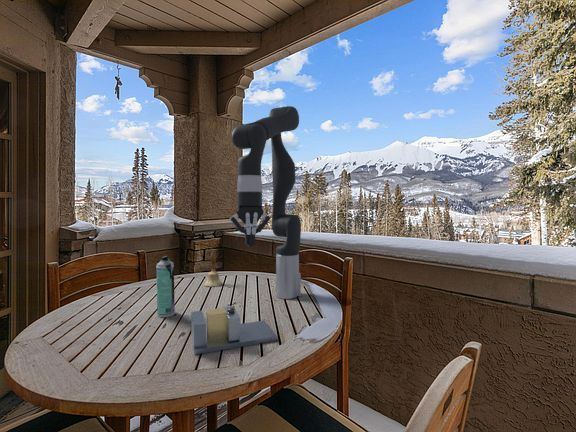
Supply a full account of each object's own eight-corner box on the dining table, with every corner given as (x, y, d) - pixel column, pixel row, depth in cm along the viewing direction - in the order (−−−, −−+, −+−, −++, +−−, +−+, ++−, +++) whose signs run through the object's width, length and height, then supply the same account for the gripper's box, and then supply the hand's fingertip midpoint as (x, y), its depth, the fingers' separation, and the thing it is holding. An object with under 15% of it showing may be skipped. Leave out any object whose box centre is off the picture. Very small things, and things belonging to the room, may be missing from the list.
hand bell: (208, 281, 146) (208, 248, 145) (225, 282, 145) (224, 249, 144) (201, 286, 138) (200, 251, 137) (218, 287, 137) (218, 252, 136)
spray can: (178, 312, 106) (177, 255, 105) (167, 318, 101) (165, 258, 100) (165, 310, 108) (164, 254, 107) (153, 316, 103) (152, 257, 102)
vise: (264, 324, 96) (264, 301, 96) (276, 340, 85) (276, 315, 85) (191, 335, 88) (190, 310, 88) (194, 354, 77) (193, 326, 77)
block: (224, 331, 88) (224, 307, 87) (226, 337, 84) (226, 312, 84) (206, 334, 86) (206, 310, 86) (208, 340, 82) (208, 314, 82)
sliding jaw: (233, 325, 91) (232, 302, 91) (240, 339, 82) (240, 314, 82) (223, 326, 90) (222, 303, 90) (229, 341, 81) (228, 315, 81)
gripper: (230, 190, 88) (231, 249, 89) (273, 190, 93) (274, 246, 94) (226, 190, 95) (226, 245, 96) (266, 191, 100) (267, 243, 101)
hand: (250, 246), depth 95 cm, fingers closed
